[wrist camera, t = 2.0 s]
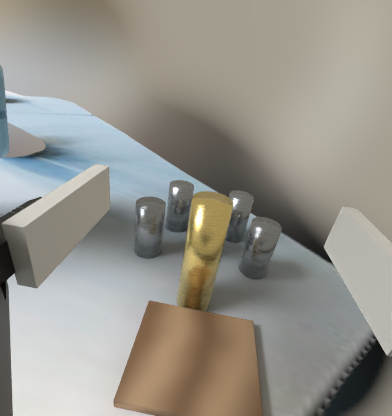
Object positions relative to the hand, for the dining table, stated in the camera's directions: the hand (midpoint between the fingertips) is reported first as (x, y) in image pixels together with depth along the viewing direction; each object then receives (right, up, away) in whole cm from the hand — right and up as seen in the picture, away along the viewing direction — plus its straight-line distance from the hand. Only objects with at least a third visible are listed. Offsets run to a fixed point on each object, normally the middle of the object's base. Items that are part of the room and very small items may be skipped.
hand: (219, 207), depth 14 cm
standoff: (-2, -11, +16) cm, 20 cm away
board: (-1, -15, +10) cm, 18 cm away
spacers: (0, -6, +27) cm, 28 cm away
